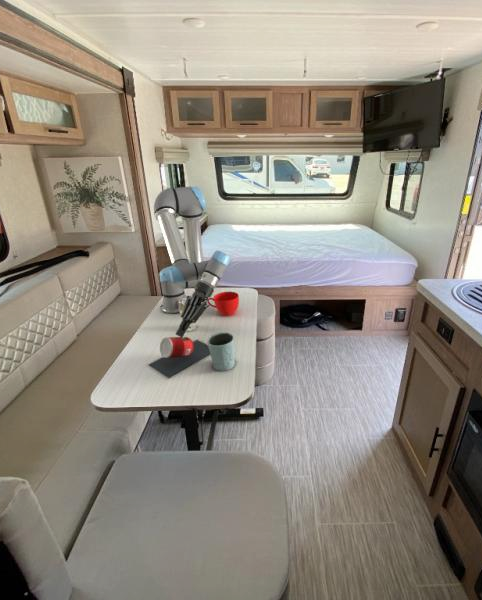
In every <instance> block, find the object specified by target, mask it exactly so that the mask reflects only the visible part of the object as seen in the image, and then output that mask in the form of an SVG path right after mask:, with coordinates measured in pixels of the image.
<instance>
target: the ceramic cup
mask: <svg viewBox="0 0 482 600" xmlns="http://www.w3.org/2000/svg"><path fill="white" fill-rule="evenodd" d="M210 300H211V301H213V302H214V304H212V303H211V302H210ZM207 302H208V303H209V304H210V306H211V307H212V308H214V309H216V310H217V311H218V313H219V314H221V315H222V316H224V317H230V316H233V315H235V313H236V312H237V310H238V308H239V303H240V296H239V294H238V292H235V291H222V292H219V293H216V294H214V296H213V297H208V301H207ZM210 306H209V307H210Z"/></svg>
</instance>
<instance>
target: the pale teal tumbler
mask: <svg viewBox="0 0 482 600" xmlns="http://www.w3.org/2000/svg"><path fill="white" fill-rule="evenodd" d="M206 340H207V341H206V344H207V345H208V347H209V350H210V357H211V358H210V359H211V362H212V366H213V368H214V369H215V370H216V371H218V372H226V371H228V370H230V369H232V368H234V367H235V363H236V362H235V361H236V360H235V336H234V335H233V334H232V333H230V332H218V333H214V334H212V335H210V336H209V337H208V338H207V339H206Z"/></svg>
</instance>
